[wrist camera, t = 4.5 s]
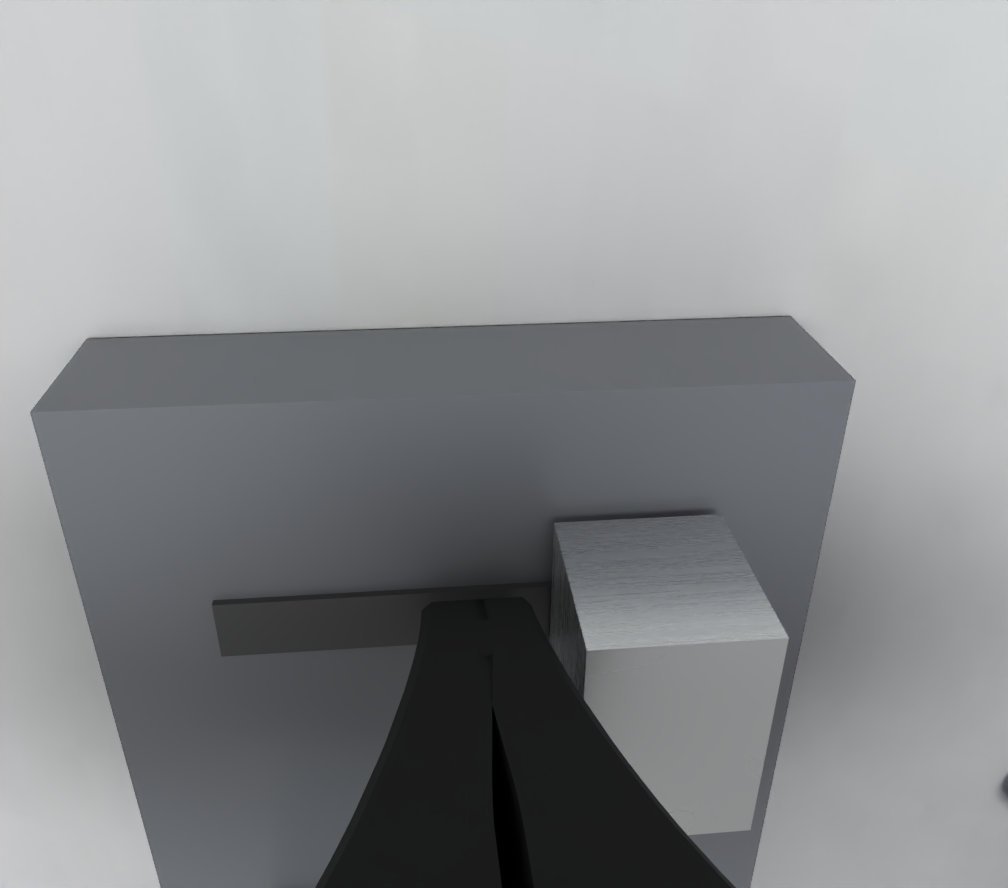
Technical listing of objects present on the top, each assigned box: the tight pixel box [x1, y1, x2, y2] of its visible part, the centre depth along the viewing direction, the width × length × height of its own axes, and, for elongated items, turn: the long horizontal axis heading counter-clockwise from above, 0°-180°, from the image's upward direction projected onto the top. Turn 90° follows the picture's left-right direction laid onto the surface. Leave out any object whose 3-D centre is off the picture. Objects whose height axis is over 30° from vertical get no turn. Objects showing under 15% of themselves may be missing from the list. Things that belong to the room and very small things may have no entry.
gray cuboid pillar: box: [550, 514, 789, 835], centre depth 11 cm, size 3×2×2 cm
